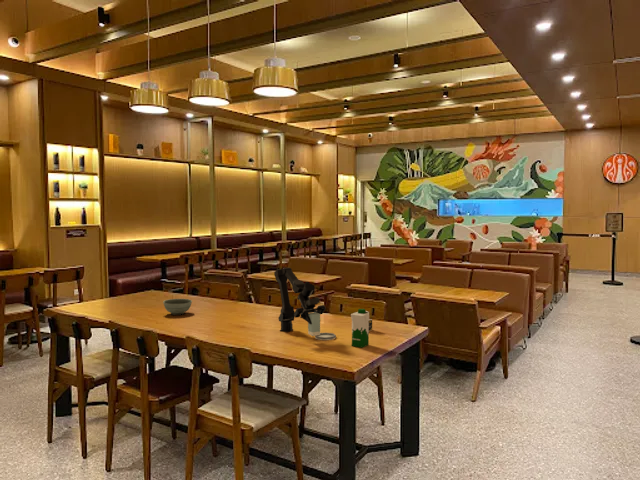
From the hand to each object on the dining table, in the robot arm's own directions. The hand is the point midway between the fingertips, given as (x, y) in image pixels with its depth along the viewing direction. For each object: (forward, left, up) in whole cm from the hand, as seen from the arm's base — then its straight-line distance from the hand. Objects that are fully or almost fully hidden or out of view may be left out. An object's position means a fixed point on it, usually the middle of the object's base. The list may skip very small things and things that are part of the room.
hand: (315, 323), depth 277 cm
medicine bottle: (+15, +40, -12) cm, 44 cm away
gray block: (-1, +1, -7) cm, 7 cm away
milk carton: (+25, +6, -12) cm, 28 cm away
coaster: (0, +14, -11) cm, 18 cm away
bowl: (-130, +33, -12) cm, 135 cm away
